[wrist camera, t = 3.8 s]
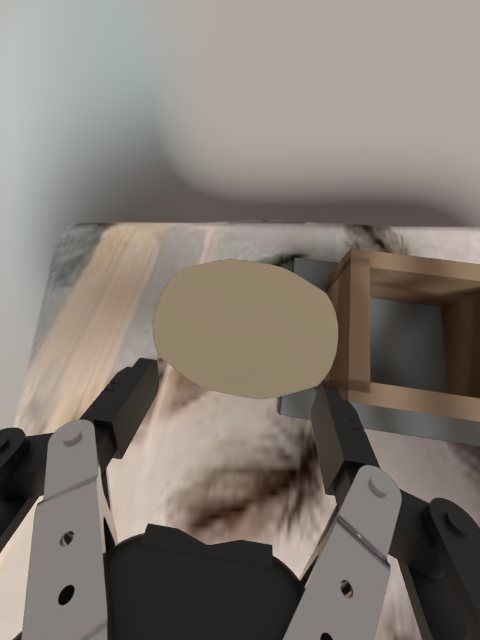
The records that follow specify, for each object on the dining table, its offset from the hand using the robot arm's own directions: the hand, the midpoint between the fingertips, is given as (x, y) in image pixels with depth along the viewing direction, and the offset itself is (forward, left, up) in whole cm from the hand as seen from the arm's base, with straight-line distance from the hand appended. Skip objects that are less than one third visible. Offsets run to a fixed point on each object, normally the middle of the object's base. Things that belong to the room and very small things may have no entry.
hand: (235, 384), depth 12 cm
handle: (0, -2, -11) cm, 11 cm away
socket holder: (-14, -6, -11) cm, 19 cm away
